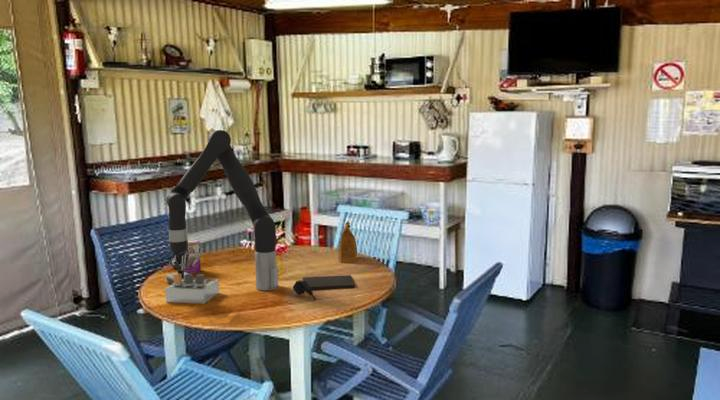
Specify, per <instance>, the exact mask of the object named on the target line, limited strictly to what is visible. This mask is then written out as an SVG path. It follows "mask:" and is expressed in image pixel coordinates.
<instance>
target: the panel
mask: <svg viewBox="0 0 720 400" xmlns="http://www.w3.org/2000/svg"><path fill="white" fill-rule="evenodd" d="M182 281H184V283H185V278H183V279H182ZM193 282H195V284H196V278H193ZM204 282H206V284H205V285H204V286H202V287H201V286H195V284H193V285H192V286H184V283H183V284H182V285H180V286H172V284H170V285H169V286H167V287H165V288H164V290H165V291H164V292H165V302H166V303H178V304H179V303H181V304H182V303H184V304H203V305H204V304H206V303H207V302H208V301H210V300H211V299H212V298H214V297H215V296H216V295H218V294H219V293H220V287H219V285H220V284H219V279H216V278H215V279H213V278H211V279H210V278H204Z"/></svg>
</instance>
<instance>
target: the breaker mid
mask: <svg viewBox="0 0 720 400" xmlns="http://www.w3.org/2000/svg"><path fill="white" fill-rule="evenodd" d="M193 279H194V273H191V274H186V275H185V283H184V286H192V285H193V284H195V282H193Z"/></svg>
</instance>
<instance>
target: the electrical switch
mask: <svg viewBox="0 0 720 400" xmlns="http://www.w3.org/2000/svg"><path fill="white" fill-rule="evenodd" d="M174 274H178V272H173V273H169V274H164V277H165V278H166V281H167V282H166V283H167V284H170V285H172V284H173V283H174ZM186 274H189V273H186V272H184V278H185V275H186Z"/></svg>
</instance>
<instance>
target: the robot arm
mask: <svg viewBox="0 0 720 400" xmlns="http://www.w3.org/2000/svg"><path fill="white" fill-rule="evenodd" d="M231 144H232V138H231V135H230V134H229V132H227V131H225V130H222V129H216V130H214V131H212V132H211V133H210V134H209V135H208V137H207V144H206V146H205V147H204V149H203V151H202V152H201V154H200V155H199V156H198V158H197V159H196V160H195V161H194V162H193V164H192V165H191V166H190V167H189V168H188V169H187V170H186V172H185V173H184V175H183V176H182V178H180V180H179V182H178V183H177V184H176V185H175V186H174V187H173V189H172V190H171V191H170V192H169V193H168V194H167V196H166V199H165V203H166V205H167V207H168V214H169V216H168V242H169V251H171V252H172V258H173V259H172V260H170V261H169V262H170V264H171V265H172V266H171V267H172V269H173V270H174V271H178V272H177V273H178V274H182V279H183V278H184V269H185V267H186V266H187V262H188V258H189V254H186V250H188V241H189V240H188V238H189V237H188V231H187V219H186V213H187V211H186V210H187V207H186V206H187V205H186V204H187V203H186V202H187V201H186V199H188V198H187V197H188V196H189V195H190V194H192V193H193V192H194V191H195V190H196V189H197V187H198V186H199V184H200V183H201V181H202V180H203V178H204V177H205V175H207V173H208V171H209V170H210V168H211V167H212V165H213V164H214V163H215V162H216V161H217V160H218V161H219V163H220V165H221V167H222V169H223V172H224V174H225V176H226V179H227V181H228V182H229V185H230V186H231V188H232V191H233V192H234V194H235V196H236V198H238V200H239V201H240V203H241V204H242V206H243V207H244V209H245V210H246V211H247V213H248V216H249V217H250V220H251V222H252V226H253V229H254V263H255V266H254V267H255V289H256V290H259V291H271V290H276V289H277V287H278V286H279V276H278V275H279V274H278V273H279V271H278V268H279V267H278V265H277V256H276V255H277V254H276V253H277V251H276V246H277V234H276V233H277V231H276V230H277V229H276V228H277V227H276V224H275V223H276V222H275V221H274V219H273V218H272V217H271V215H270V214H269V213H268V211H267V210H266V208H265V206H264V205H263V203H262V201H261V199H260V196H259V193H258V190H257V188H256V185H255V183H254V181H253V179H252V178H251V175H250V174H249V172H248V170H246V168H245V166H244V165H243V164H242V163H241V162H240V160H239V159H238V158H237V156H236V154H235V152H234V150H233V148H232V146H231Z"/></svg>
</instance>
